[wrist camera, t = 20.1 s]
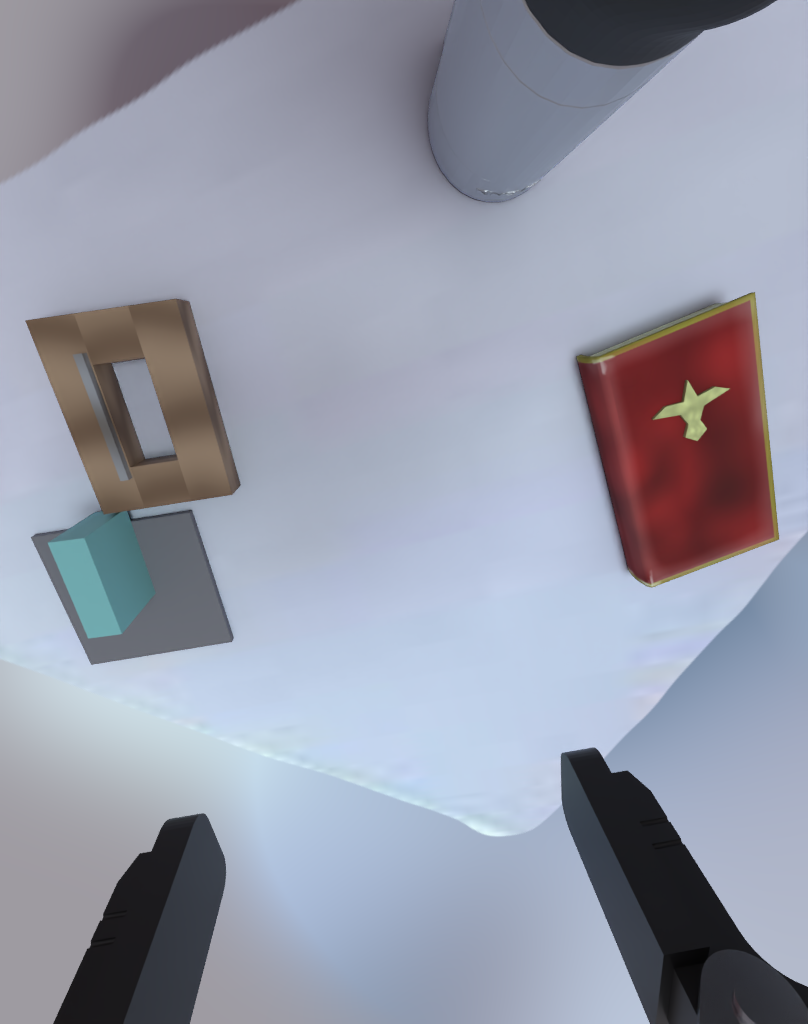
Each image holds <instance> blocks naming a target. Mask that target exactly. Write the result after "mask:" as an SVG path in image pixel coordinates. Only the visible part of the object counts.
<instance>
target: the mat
mask: <svg viewBox="0 0 808 1024" xmlns="http://www.w3.org/2000/svg"><path fill="white" fill-rule="evenodd" d="M130 521H131V523H132V526H133V529H134V532H135V535H136V538H137V541H138V544H139V546H140V549H141V552H142V555H143V558H144V561H145V564H146V567H147V569H148V572H149V575H150V578H151V581H152V584H153V587H154V590H155V595H154V596H153V597H152V598H151V599H150V601H149V602H148V603H147V604H146V605H145V607H144V608H143V609H142V610H141V612H140V613H139V614H138V615H137V616H136V618H135V619H134V620H133V621H132V622H131V624H130V625H129V626H128V627H127V629H126V630H125V631H124V632H123V633H122V634H119V635H111V636H104V637H97V638H89V639H88V637H87V634H86V632H85V630H84V627H83V625H82V623H81V620H80V618H79V616H78V613H77V611H76V608H75V606H74V604H73V601H72V599H71V597H70V594H69V592H68V590H67V587H66V585H65V583H64V580H63V578H62V576H61V573H60V571H59V568H58V566H57V564H56V561H55V559H54V557H53V554H52V552H51V550H50V547H49V545H48V542H50V541H51V540H53V539H54V538H56V537H57V536H59V535H60V534H62V533H64V532H65V531H67V530H62V531H55V532H49V533H42V534H36V535H34V536H33V537H31V538H32V541H33V543H34V545H35V547H36V549H37V551H38V553H39V555H40V557H41V560H42V562H43V564H44V566H45V568H46V570H47V572H48V574H49V576H50V579H51V581H52V583H53V585H54V587H55V589H56V591H57V593H58V595H59V597H60V600H61V602H62V604H63V606H64V608H65V610H66V612H67V614H68V616H69V619H70V621H71V623H72V625H73V627H74V629H75V631H76V633H77V635H78V638H79V640H80V642H81V644H82V646H83V648H84V650H85V652H86V654H87V656H88V659H89V661H90V663H91V665H93V664H99V663H105V662H111V661H117V660H123V659H129V658H135V657H142V656H148V655H154V654H160V653H166V652H172V651H178V650H185V649H191V648H197V647H203V646H209V645H215V644H221V643H227V642H232V640H233V634H232V631H231V628H230V625H229V622H228V619H227V616H226V613H225V610H224V607H223V604H222V601H221V598H220V595H219V592H218V589H217V586H216V583H215V579H214V576H213V573H212V570H211V567H210V564H209V561H208V558H207V555H206V552H205V549H204V546H203V543H202V540H201V537H200V534H199V531H198V528H197V524H196V521H195V518H194V515H193V512H192V510H190V511H184V512H177V513H171V514H164V515H158V516H152V517H145V518H139V519H132V520H130Z"/></svg>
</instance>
